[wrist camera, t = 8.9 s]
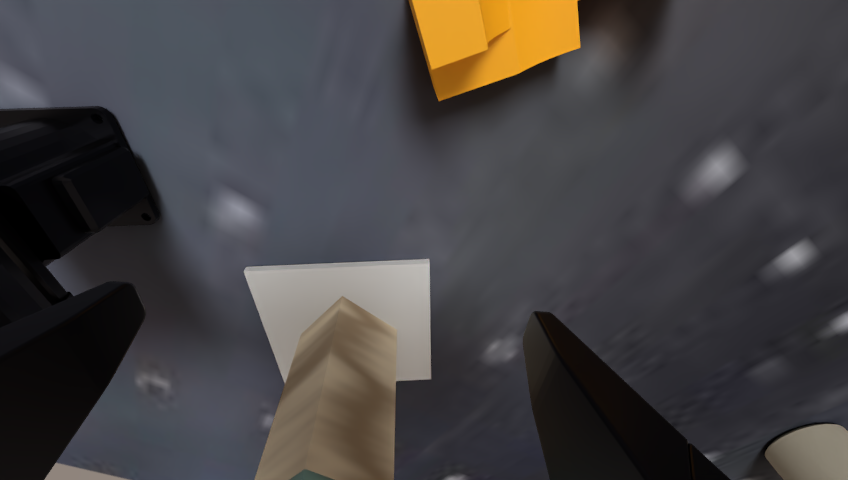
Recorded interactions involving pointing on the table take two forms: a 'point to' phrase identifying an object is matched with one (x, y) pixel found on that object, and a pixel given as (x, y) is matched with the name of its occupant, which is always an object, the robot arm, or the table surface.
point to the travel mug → (811, 453)
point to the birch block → (337, 402)
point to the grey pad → (361, 284)
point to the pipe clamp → (491, 38)
